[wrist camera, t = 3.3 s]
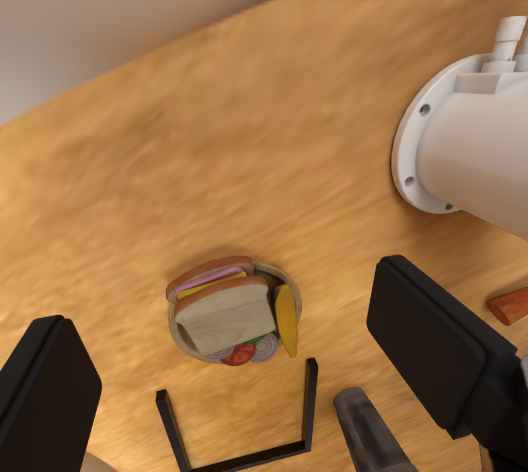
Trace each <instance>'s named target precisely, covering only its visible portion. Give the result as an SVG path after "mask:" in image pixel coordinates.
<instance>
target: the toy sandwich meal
mask: <svg viewBox="0 0 528 472" xmlns="http://www.w3.org/2000/svg"><path fill="white" fill-rule="evenodd" d="M166 298H167V300H168V301H170V302H172V303H173V304H172V306H171V309H170V313H169V328H170V332H171V335H172V337H173V339H174V341H175V342H176V343H177V345H178V346H179V347H180V348H181V349H182V350H183V351H185V352H186V353H187V354H189V355H191V356H192V357H194V358H197V359H199V360H202V361H205V362H209V363H216V364H227V365H230V366H239V365H242V364H245V363H247V362H248V361H252V362H264V361H266V360H269V359H270V358H272V357H273V356H274V354H275V353H276V351H277V348H278V346H280V345H281V344H282V343H284V345H285V348H286V350H287V352H288V354H289V356H290V357H291V358H292V357H295V356H296V354H297V335H298V330H297V324H298V321H299V319H300V315H301V310H302V300H301V295H300V292H299V289H298V287H297V286H296V284H295V283H294V281H293V280H292V279H291V278H290V277H289V276H288V275H287V274H285V273H284V272H283V271H281V270H279V269H278V268H275V267H273V266H270V265H267V264H264V263H259V262H252V259H251V258H249V257H247V256H233V257H227V258H221V259H218V260H214V261H211V262H208V263H205V264H202V265H200V266H198V267H195V268H193V269H191V270H189V271H187V272H186V273H184V274H182V275H181V276H179V277H178V278H176V279H175V280H174V281H172V282H171V283H170V284H169V285H168V286H167V288H166Z"/></svg>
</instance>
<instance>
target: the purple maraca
mask: <svg viewBox="0 0 528 472" xmlns="http://www.w3.org/2000/svg"><path fill="white" fill-rule="evenodd" d="M487 304H488V307H489V309H490V310H491V312H492V313H493V315H494V316H495V317H496V318H497V319H498V320H499V321H500V322H501V323H503V324H504V325H506V326H510V325H511V324H513V323H515V322H516V321H518V320H519V319H521V318H523V317H524V316H526V315H527V314H528V287H526V288H523V289H521V290H518V291H515V292H512V293H509V294H507V295H504V296H501V297H498V298H495V299H492V300H490V301H488V302H487Z"/></svg>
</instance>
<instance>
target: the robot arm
mask: <svg viewBox="0 0 528 472" xmlns="http://www.w3.org/2000/svg"><path fill="white" fill-rule="evenodd" d="M526 19H527V21H526ZM525 22H526V24H525ZM524 25H525V27H524ZM523 28H524V30H525V32H524V35H523V38H522V41H521V44H520V47H519V50H518V53H517V55H513V54H514V51H515V48H516V45H517V42H518V41H519V40H520V37H521V34H522V31H523ZM493 43H494V46H493V49H492V53H486V54H477V55H472V56H469V57H466V58H463V59H460V60H458V61H456V62H454V63H453V64H451V65H449V66H447V67H446V68H444V69H443V70H442V71H440V72H439V73H438V74H437V75H435V76H434V77H433V78H432V79H430V81H429V82H428V83H427V84H426V85H425V86H424V87H423V88H422V89H421V90H420V91H419V92H418V94H417V95H416V97H415V98H414V100H413V101H412V102H411V104H410V105H409V107H408V108H407V110H406V112H405V114H404V116H403V118H402V120H401V122H400V124H399V127H398V130H397V133H396V136H395V139H394V143H393V149H392V155H391V169H392V175H393V180H394V183H395V185H396V188H397V190H398V192H399V193H400V194H401V196H402V197H403V198H404V200H406V201H407V202H408V203H410V204H411V205H412V206H414V207H416V208H418V209H420V210H422V211H424V212H428V213H432V214H445V213H451V212H456V211H459V210H461V209H462V210H464V211H466V212H468V213H470V214H472V215H474V216H476V217H478V218H481V219H483V220H485V221H487V222H489V223H491V224H493V225H495V226H497V227H499V228H501V229H503V230H505V231H507V232H510V233H512V234H514V235H516V236H518V237H520V238H522V239H524V240H526V241H528V17H527V16H514V17H507V18H502V19H500V22H499V25H498V28H497V32H496V35H495V39H494V42H493ZM366 323H367V328H368V330H369V332H370V333H371V335H372V336H373V337H374V339H375V340H376V341H377V343H378V344H379V346H380V347H381V348H382V350H383V351H384V352H385V354H386V355H387V357H388V358H389V359H390V361H391V362H392V363H393V365H394V366H395V368H396V369H397V370H398V372H399V373H400V374H401V376H402V377H403V379H404V380H405V381H406V383H407V384H408V385H409V387H410V388H411V390H412V391H413V392H414V394H415V395H416V396H417V398H418V399H419V401H420V402H421V403H422V405H423V406H424V407H425V409H426V410H427V412H428V413H429V414H430V416H431V417H432V418H433V420H434V421H435V422H436V424H437V425H438V426H439V427H440V428H442V429H446V431H447V432H448V433H449V435H450V436H451V438H452V439H453V440H455V439H458V438H461V437H464V436H467V435H470V434H471V433H472V434H473V436H474V437H475V438H476V439H477V441H478V442H479V448H480V456H481V464H482V472H528V354H526V355H524V356H523V358H522V359H520V358H518V357H517V356H516V355H515V353H516V352H517V350H518V349H517V348H516V347H515V346H514V345H512V344H511V343H510V342H509V341H508V340H506V339H505V338H504V337H503V336H501V335H500V334H499V333H498V332H496V331H495V330H494V329H493V328H491V327H490V326H489V325H488V324H487V323H485V322H484V321H483V320H482V319H480V318H479V317H478V316H477V315H475V314H474V313H473V312H472V311H470V310H469V309H468V308H467V307H466V306H464V305H463V304H462V303H461V302H459V301H458V300H457V299H456V298H454V297H453V296H452V295H451V294H450V293H448V292H447V291H446V290H445V289H443V288H442V287H441V286H440V285H438V284H437V283H436V282H435V281H433V280H432V279H431V278H430V277H429V276H427V275H426V274H425V273H424V272H422V271H421V270H420V269H419V268H417V267H416V266H415V265H414V264H412V263H411V262H410V261H409V260H408V259H406V258H405V257H404V256H402V255H399V254H398V255H392V256H387V257H383V258H382V259H381V260H380V262H379V263H377V265H376V270H375V276H374V281H373V287H372V293H371V298H370V304H369V309H368V315H367V321H366ZM101 391H102V383H101V379H100V377H99V375H98V373H97V371H96V369H95V367H94V365H93V363H92V361H91V359H90V357H89V355H88V353H87V350H86V348H85V346H84V344H83V342H82V340H81V338H80V336H79V334H78V332H77V330H76V328H75V326H74V324H73V322H72V321H71V319H65V318H64V317H63V316H62V315H54V316H49V317H43V318H37V319H35V320H33V322H32V323H31V324H30V326H29V327H28V329H27V330H26V332H25V333H24V335H23V337H22V338H21V340H20V341H19V343H18V344H17V346H16V348H15V349H14V351H13V352H12V354H11V355H10V357H9V359H8V360H7V362H6V363H5V365H4V366H3V368H2V370H1V371H0V472H80V469H81V466H82V462H83V458H84V455H85V451H86V447H87V444H88V440H89V436H90V433H91V429H92V425H93V422H94V418H95V414H96V411H97V407H98V403H99V400H100V396H101Z"/></svg>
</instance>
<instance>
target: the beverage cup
mask: <svg viewBox="0 0 528 472" xmlns="http://www.w3.org/2000/svg"><path fill="white" fill-rule="evenodd" d="M333 403H334V406H335V409H336V412H337V417H338V420H339V423H340V426H341V429H342V431H343V434H344V437H345V440H346V443H347V446H348V449H349V452H350V455H351V458H352V460H353V463H354V466H355V469H356V472H419V471H418V470H417V469H416V467H415V466H414V465H413V464H412V463H411V462H410V460H409V459H408V457H407V456H406V454H405V453H404V451H403V450H402V448H401V447H400V445H399V443H398V442H397V440H396V439H395V437H394V436H393V434H392V433H391V431H390V430H389V428H388V427H387V425H386V424H385V422H384V421H383V419H382V418H381V416H380V415H379V413H378V412H377V410H376V409H375V407H374V406H373V404H372V403H371V401H370V400H369V399H368V397H367V396H366V395H365V393H364V391H363V390H362V389H361V388H357V387H353V388H349V389H346V390H344V391H342V392H341V393H339V394H338V395H337V396H336V397H335V399H334V402H333Z"/></svg>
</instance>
